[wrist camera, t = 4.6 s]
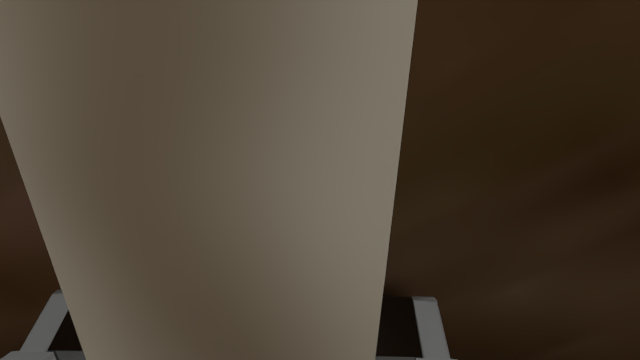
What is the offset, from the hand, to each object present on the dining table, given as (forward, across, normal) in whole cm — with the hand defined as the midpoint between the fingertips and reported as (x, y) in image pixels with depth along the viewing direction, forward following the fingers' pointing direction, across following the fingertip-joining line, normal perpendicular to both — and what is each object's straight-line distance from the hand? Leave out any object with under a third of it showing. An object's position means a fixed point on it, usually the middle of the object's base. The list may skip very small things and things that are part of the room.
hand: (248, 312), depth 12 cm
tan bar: (+2, 0, 0) cm, 2 cm away
